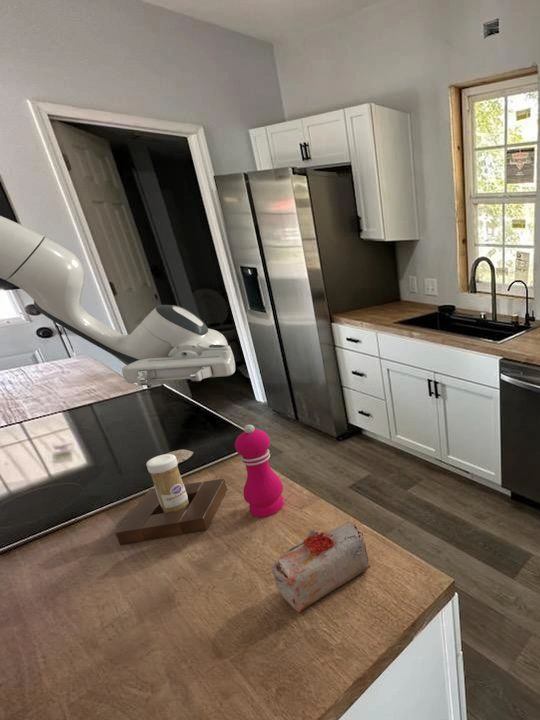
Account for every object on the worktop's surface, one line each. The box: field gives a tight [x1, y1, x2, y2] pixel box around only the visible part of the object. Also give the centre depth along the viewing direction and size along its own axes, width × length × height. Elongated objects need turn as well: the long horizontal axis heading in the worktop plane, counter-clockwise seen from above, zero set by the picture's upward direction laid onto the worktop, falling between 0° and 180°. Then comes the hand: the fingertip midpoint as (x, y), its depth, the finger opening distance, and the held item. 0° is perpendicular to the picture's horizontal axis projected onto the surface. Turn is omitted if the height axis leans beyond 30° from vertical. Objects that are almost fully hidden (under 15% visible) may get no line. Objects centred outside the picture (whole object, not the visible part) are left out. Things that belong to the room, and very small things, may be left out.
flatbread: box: [163, 449, 194, 464], centre depth 104 cm, size 8×8×1 cm
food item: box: [270, 521, 371, 613], centre depth 69 cm, size 14×8×10 cm, turn 138°
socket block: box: [115, 478, 228, 546], centre depth 85 cm, size 14×14×3 cm
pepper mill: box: [234, 424, 285, 518], centre depth 85 cm, size 7×7×20 cm
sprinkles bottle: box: [145, 453, 190, 513], centre depth 83 cm, size 5×5×14 cm
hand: (168, 380), depth 87 cm, fingers open, 8 cm apart
